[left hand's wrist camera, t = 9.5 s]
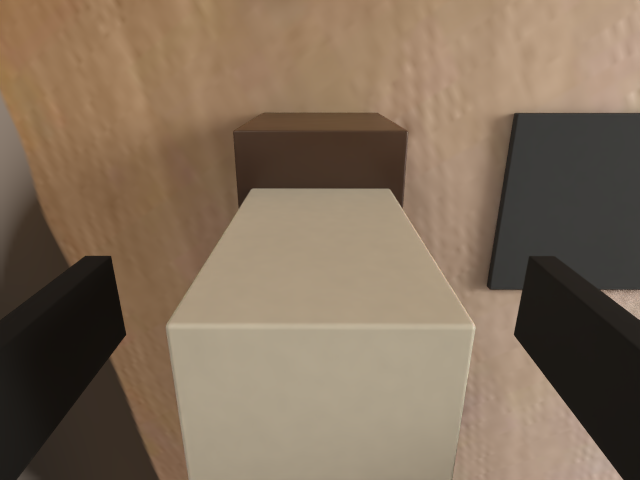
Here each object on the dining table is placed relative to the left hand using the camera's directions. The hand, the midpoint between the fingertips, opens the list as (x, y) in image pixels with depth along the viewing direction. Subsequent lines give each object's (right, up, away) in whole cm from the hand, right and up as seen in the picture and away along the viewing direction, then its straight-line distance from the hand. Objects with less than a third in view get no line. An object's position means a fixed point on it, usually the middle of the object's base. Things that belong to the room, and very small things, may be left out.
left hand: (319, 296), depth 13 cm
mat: (+15, +4, +11) cm, 19 cm away
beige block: (0, +1, +3) cm, 3 cm away
